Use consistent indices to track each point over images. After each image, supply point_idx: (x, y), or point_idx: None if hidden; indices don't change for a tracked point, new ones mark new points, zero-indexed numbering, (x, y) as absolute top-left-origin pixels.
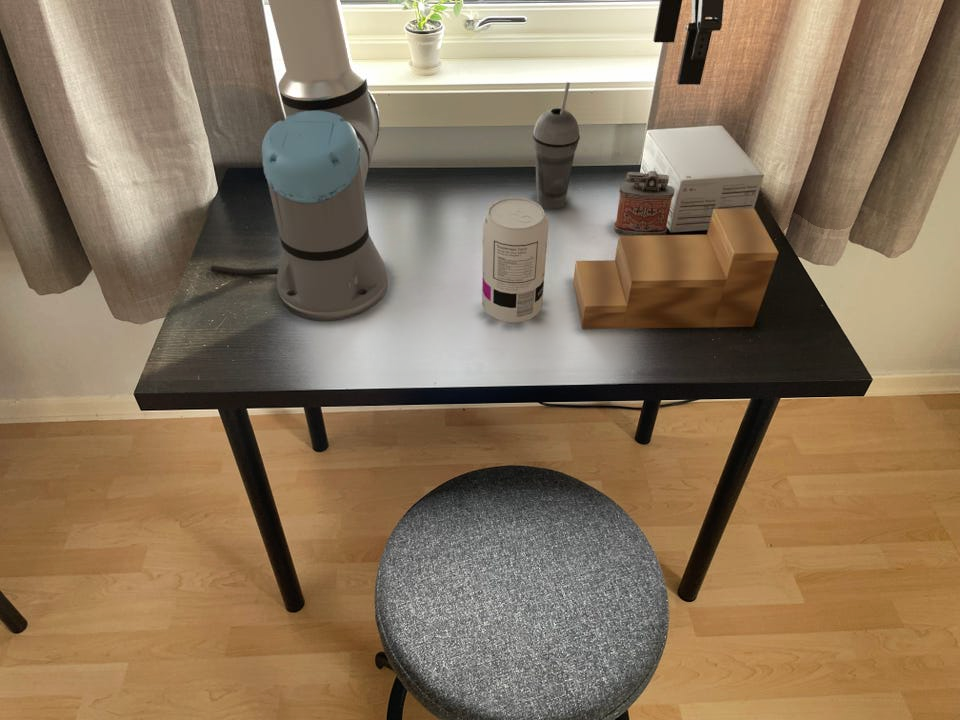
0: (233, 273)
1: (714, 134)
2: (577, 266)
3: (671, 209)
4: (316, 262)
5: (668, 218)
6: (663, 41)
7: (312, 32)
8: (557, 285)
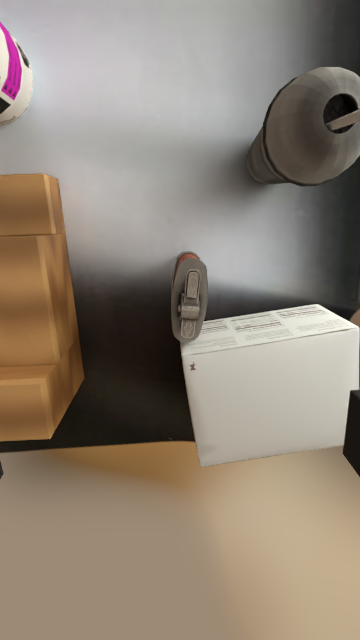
0: None
1: (327, 427)
2: (29, 175)
3: None
4: None
5: None
6: (348, 421)
7: None
8: (51, 155)
